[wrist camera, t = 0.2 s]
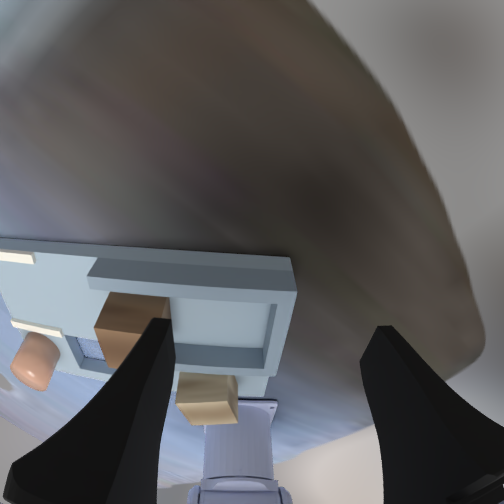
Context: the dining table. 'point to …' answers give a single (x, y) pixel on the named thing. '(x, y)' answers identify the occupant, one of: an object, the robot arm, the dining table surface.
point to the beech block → (207, 398)
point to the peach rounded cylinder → (35, 361)
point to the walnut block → (126, 322)
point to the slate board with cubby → (155, 284)
